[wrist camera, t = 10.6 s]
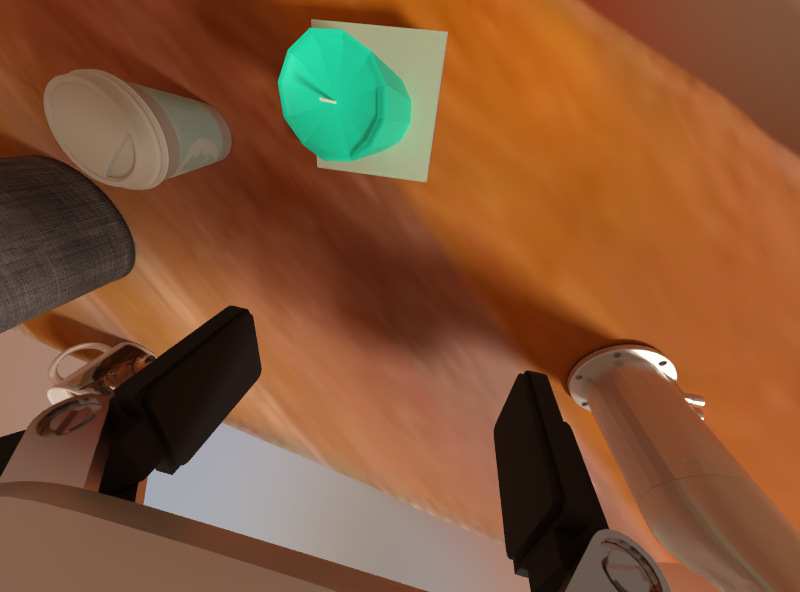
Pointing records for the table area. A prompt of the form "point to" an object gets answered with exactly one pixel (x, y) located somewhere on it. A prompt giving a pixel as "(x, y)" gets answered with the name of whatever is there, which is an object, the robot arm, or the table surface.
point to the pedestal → (421, 73)
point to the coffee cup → (131, 129)
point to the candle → (342, 97)
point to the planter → (55, 238)
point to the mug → (98, 370)
